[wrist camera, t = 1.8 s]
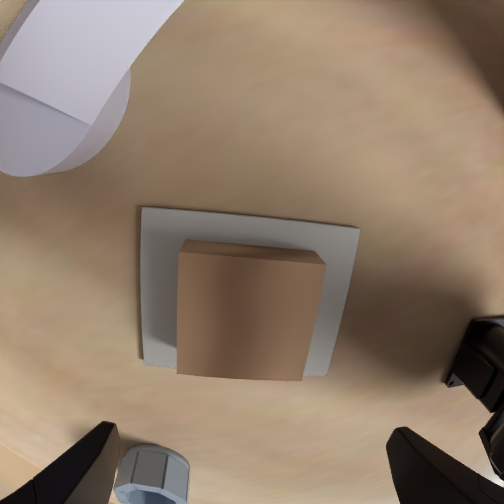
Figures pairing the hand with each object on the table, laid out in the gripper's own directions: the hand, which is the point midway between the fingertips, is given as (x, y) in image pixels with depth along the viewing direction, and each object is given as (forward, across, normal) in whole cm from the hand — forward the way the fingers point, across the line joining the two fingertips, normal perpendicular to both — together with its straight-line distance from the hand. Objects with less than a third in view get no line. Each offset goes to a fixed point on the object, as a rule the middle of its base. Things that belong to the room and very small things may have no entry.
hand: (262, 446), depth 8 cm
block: (+10, 0, 0) cm, 10 cm away
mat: (+11, 0, 0) cm, 11 cm away
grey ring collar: (+11, +6, +17) cm, 21 cm away
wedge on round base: (+11, +11, -13) cm, 20 cm away
